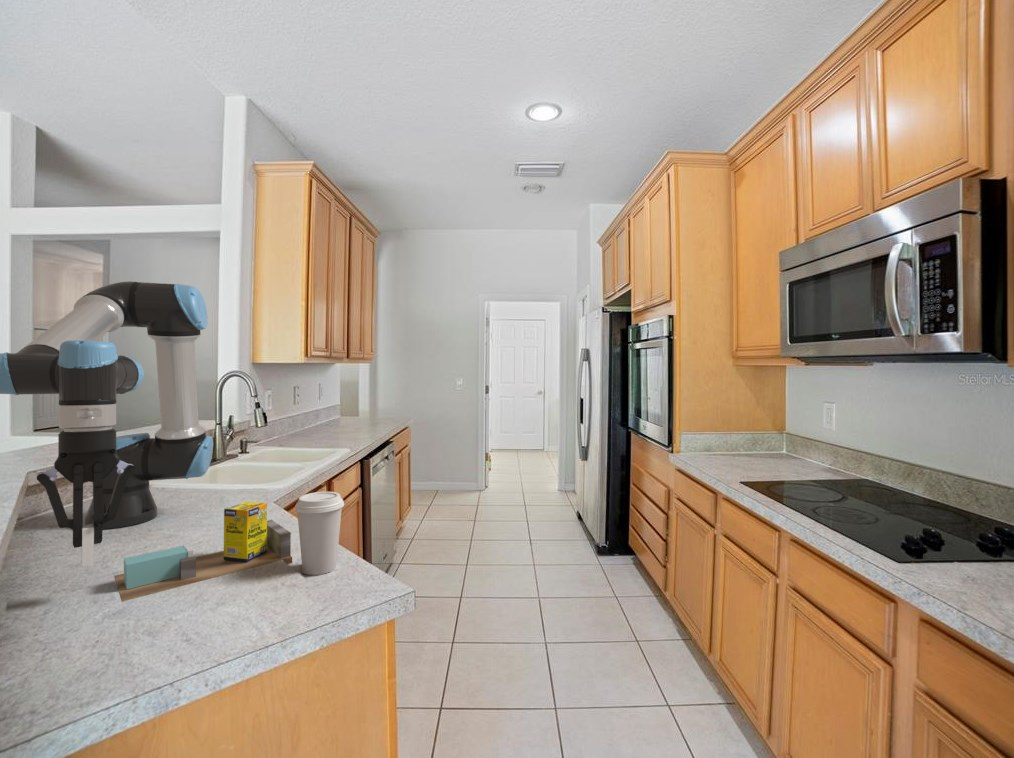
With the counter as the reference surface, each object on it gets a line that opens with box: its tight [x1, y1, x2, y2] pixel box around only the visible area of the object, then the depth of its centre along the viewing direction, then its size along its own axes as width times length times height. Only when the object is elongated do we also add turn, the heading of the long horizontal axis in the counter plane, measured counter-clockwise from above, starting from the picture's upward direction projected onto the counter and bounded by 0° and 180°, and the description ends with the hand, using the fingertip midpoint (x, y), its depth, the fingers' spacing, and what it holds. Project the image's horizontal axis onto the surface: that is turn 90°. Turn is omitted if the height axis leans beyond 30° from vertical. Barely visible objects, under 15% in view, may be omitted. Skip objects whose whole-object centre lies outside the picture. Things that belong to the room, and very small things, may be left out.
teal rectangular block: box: [123, 543, 194, 589], centre depth 88 cm, size 5×10×5 cm, turn 134°
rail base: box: [114, 519, 293, 602], centre depth 94 cm, size 14×28×6 cm, turn 134°
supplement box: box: [223, 501, 268, 562], centre depth 99 cm, size 6×6×11 cm
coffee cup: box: [294, 491, 345, 576], centre depth 96 cm, size 10×10×15 cm
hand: (87, 563), depth 81 cm, fingers closed
